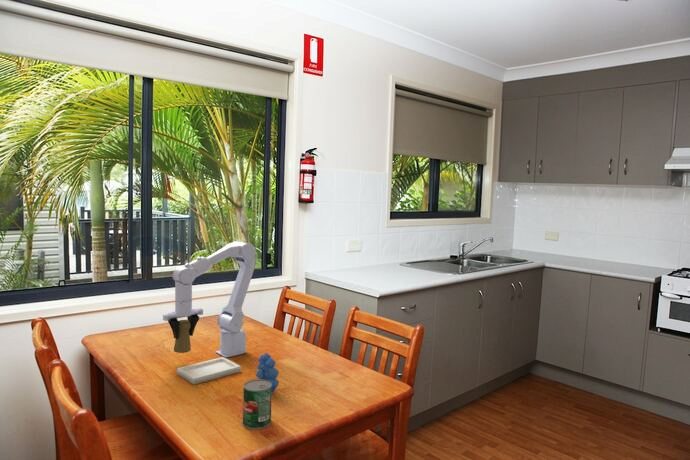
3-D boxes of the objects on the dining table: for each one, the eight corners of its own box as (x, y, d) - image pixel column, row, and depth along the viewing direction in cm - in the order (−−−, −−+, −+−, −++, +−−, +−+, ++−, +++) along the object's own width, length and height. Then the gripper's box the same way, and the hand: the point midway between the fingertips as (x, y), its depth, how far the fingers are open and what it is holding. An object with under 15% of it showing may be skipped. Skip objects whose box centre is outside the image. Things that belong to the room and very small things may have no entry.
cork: (185, 353, 176) (186, 324, 175) (170, 351, 177) (171, 321, 176) (194, 348, 182) (195, 319, 181) (179, 346, 183) (180, 317, 182)
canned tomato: (236, 425, 136) (237, 387, 135) (252, 413, 143) (252, 377, 142) (262, 431, 133) (262, 392, 132) (276, 419, 140) (277, 382, 139)
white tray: (223, 362, 183) (223, 357, 183) (240, 371, 175) (240, 366, 174) (177, 373, 171) (177, 368, 170) (193, 384, 162) (193, 378, 162)
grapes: (247, 386, 162) (248, 351, 161) (266, 382, 166) (266, 348, 165) (263, 400, 152) (264, 362, 151) (282, 395, 156) (283, 358, 155)
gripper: (196, 295, 185) (196, 330, 187) (159, 300, 175) (159, 337, 177) (206, 298, 180) (205, 334, 181) (167, 304, 170) (167, 342, 171)
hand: (183, 336), depth 179 cm, fingers closed on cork, 5 cm apart
